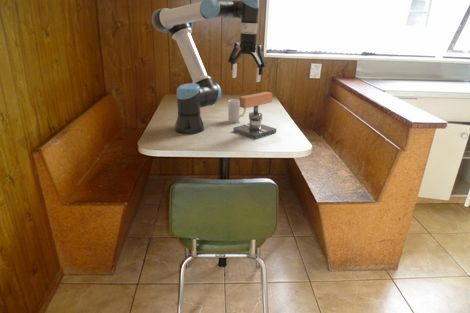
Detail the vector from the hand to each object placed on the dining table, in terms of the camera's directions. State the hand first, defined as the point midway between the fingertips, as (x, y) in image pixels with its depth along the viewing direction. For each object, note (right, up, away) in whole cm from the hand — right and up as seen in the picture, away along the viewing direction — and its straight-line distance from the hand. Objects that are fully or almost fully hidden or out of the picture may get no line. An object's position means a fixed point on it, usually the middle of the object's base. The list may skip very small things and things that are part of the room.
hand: (246, 79), depth 164 cm
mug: (-4, -17, +32) cm, 36 cm away
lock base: (+5, -24, +15) cm, 29 cm away
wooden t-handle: (+5, -17, +12) cm, 22 cm away
